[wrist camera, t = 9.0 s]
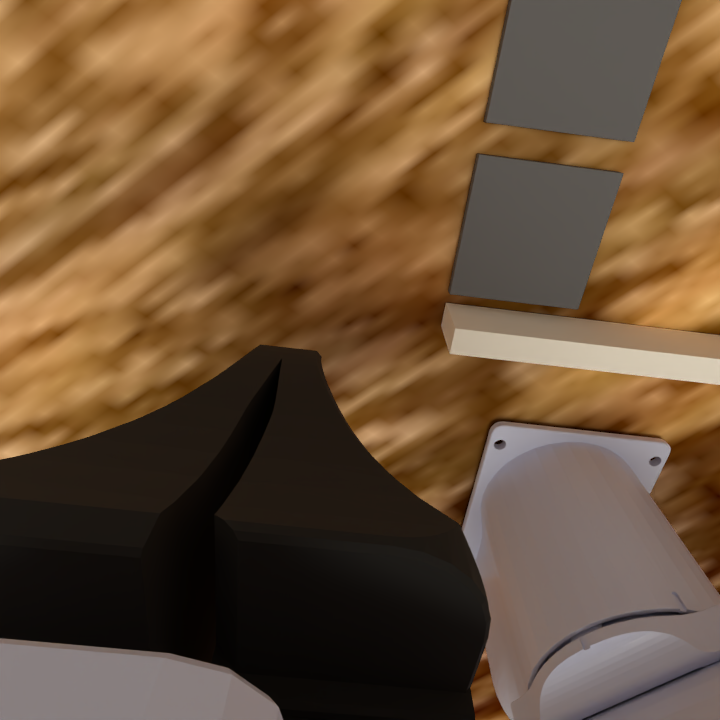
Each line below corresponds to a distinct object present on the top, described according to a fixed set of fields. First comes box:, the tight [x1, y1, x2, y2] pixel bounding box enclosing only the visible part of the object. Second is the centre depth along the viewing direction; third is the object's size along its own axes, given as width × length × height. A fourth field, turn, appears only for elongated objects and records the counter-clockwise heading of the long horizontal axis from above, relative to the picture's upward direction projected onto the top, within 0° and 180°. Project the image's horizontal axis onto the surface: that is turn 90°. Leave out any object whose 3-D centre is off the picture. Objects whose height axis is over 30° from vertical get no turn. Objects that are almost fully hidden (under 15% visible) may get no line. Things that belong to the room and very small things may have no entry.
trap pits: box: [448, 0, 682, 309], centre depth 18 cm, size 11×5×1 cm, turn 173°
